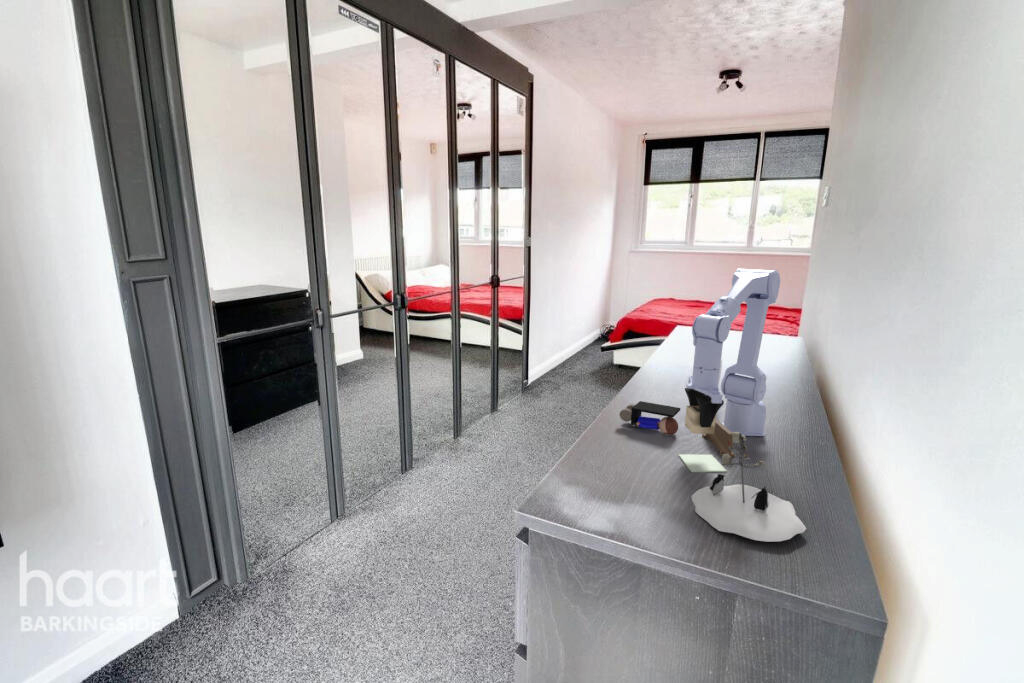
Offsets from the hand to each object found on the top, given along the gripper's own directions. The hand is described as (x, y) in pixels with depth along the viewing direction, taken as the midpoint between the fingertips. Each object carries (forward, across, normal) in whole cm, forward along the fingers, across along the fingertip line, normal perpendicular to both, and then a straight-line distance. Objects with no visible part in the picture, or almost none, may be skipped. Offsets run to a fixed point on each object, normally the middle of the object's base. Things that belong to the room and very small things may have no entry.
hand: (700, 422), depth 110 cm
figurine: (+10, +24, 0) cm, 26 cm away
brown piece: (+9, -6, +8) cm, 13 cm away
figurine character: (+9, -16, -7) cm, 20 cm away
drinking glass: (+9, -37, +18) cm, 42 cm away
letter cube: (+2, 0, 0) cm, 2 cm away
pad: (+9, +3, 0) cm, 10 cm away
